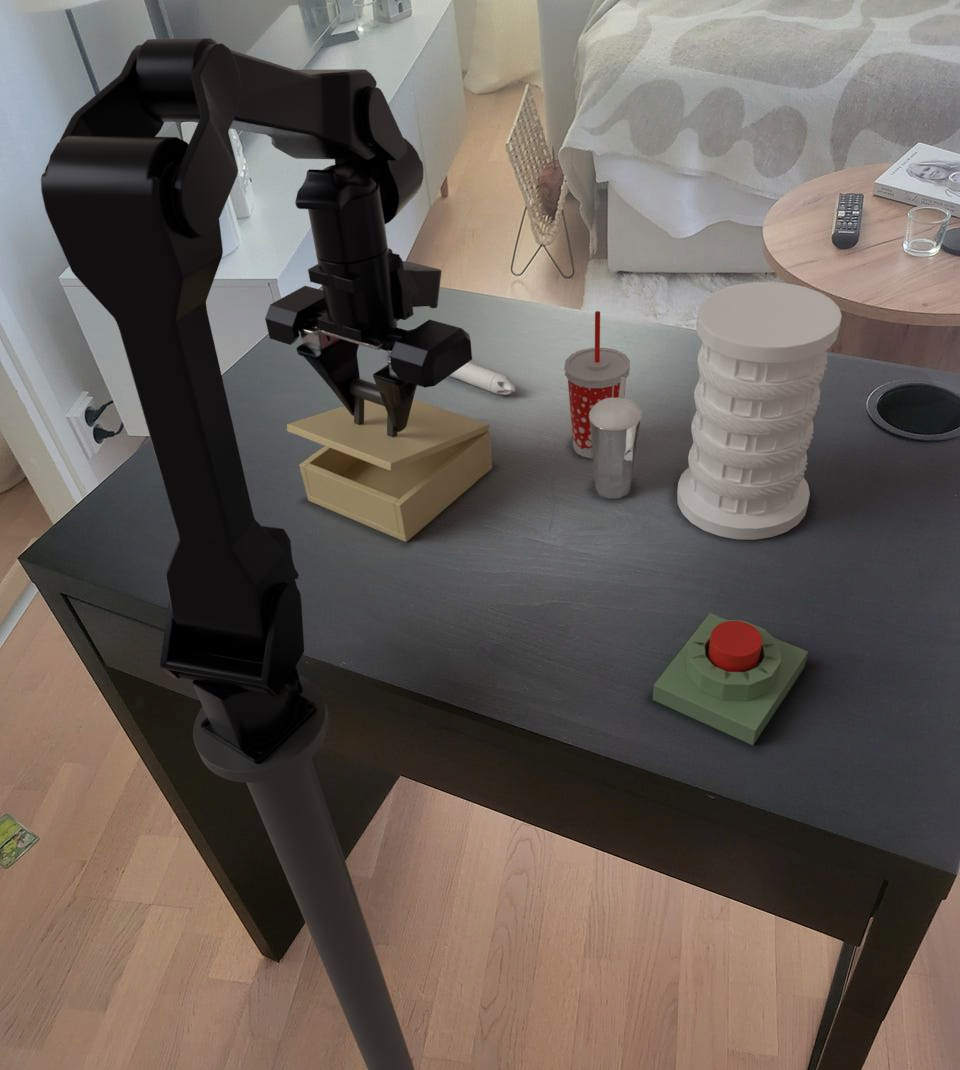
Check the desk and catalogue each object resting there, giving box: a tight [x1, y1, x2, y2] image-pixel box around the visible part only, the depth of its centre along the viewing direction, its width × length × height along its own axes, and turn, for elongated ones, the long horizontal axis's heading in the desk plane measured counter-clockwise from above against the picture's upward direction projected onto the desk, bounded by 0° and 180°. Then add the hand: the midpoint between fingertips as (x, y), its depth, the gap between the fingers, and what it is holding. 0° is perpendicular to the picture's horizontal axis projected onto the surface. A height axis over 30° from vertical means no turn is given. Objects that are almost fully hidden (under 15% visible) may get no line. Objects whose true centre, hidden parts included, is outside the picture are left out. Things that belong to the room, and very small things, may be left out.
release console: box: [652, 612, 809, 746], centre depth 70 cm, size 9×8×4 cm
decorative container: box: [676, 281, 843, 541], centre depth 80 cm, size 12×12×18 cm
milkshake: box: [589, 377, 642, 500], centre depth 86 cm, size 4×5×10 cm
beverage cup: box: [563, 310, 631, 460], centre depth 89 cm, size 6×6×14 cm
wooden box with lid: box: [286, 378, 490, 471], centre depth 87 cm, size 14×12×5 cm
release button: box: [708, 621, 762, 672], centre depth 68 cm, size 4×4×2 cm
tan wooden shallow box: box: [298, 431, 493, 543], centre depth 91 cm, size 13×12×4 cm
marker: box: [448, 361, 516, 396], centre depth 105 cm, size 18×2×2 cm, turn 49°
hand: (379, 422), depth 86 cm, fingers closed on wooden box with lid, 5 cm apart
